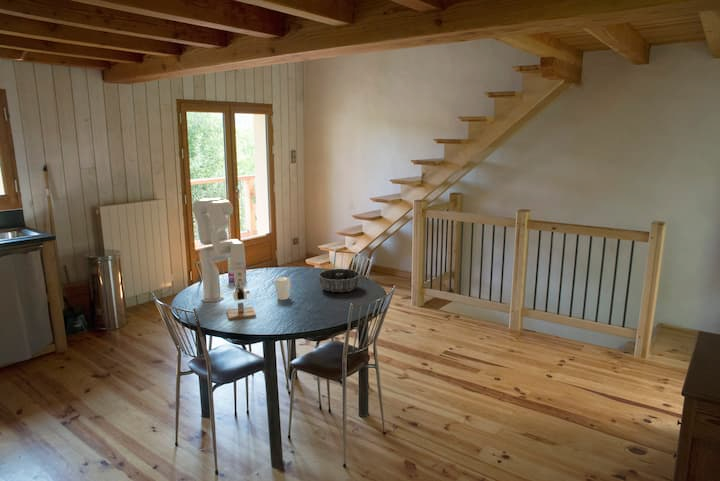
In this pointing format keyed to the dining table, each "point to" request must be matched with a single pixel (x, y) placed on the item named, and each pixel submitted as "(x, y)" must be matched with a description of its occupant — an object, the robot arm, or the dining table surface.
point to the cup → (282, 287)
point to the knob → (237, 296)
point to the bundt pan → (339, 280)
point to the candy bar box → (231, 272)
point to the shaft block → (241, 312)
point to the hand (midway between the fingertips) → (240, 296)
